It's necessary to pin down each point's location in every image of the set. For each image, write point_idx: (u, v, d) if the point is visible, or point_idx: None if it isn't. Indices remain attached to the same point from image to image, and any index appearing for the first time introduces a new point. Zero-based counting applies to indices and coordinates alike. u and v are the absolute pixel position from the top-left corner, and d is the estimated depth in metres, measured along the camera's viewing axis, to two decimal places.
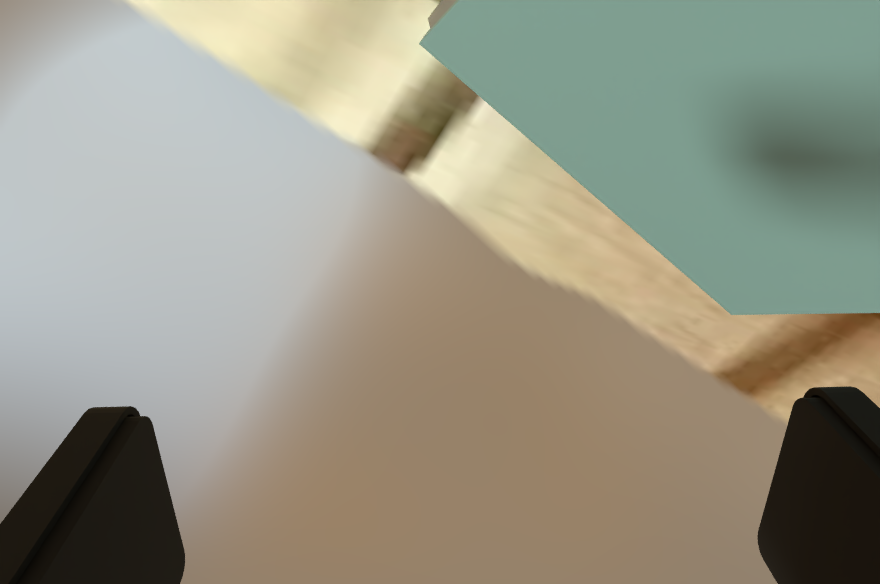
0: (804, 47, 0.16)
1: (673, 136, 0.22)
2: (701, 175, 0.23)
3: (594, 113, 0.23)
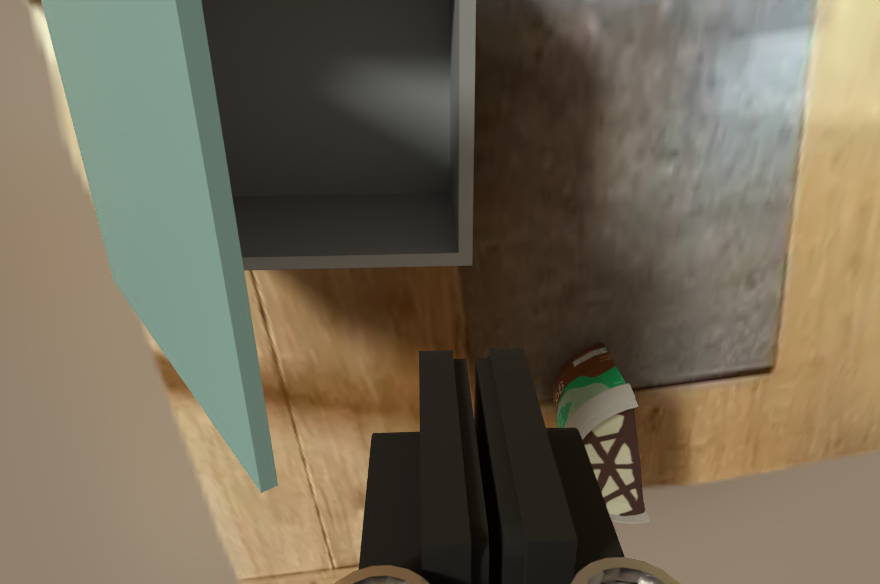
0: (113, 96, 0.24)
1: (89, 106, 0.28)
2: (98, 149, 0.29)
3: (68, 52, 0.29)
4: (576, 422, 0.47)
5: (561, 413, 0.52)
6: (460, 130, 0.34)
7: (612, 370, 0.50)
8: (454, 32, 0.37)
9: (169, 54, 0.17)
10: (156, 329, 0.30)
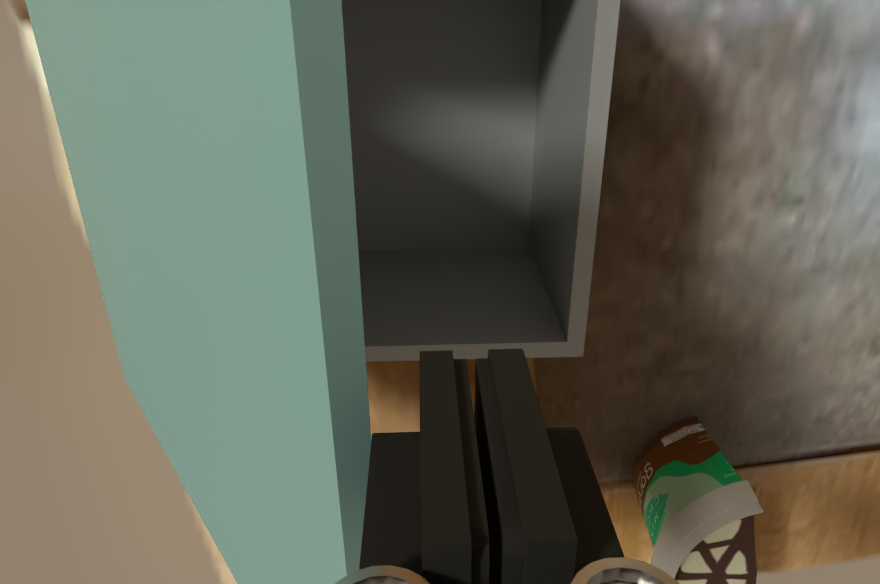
0: (134, 176, 0.15)
1: (96, 173, 0.20)
2: (107, 229, 0.21)
3: (67, 95, 0.20)
4: (682, 526, 0.39)
5: (653, 505, 0.43)
6: (582, 190, 0.26)
7: (717, 457, 0.42)
8: (564, 60, 0.28)
9: (261, 156, 0.08)
10: (186, 477, 0.22)
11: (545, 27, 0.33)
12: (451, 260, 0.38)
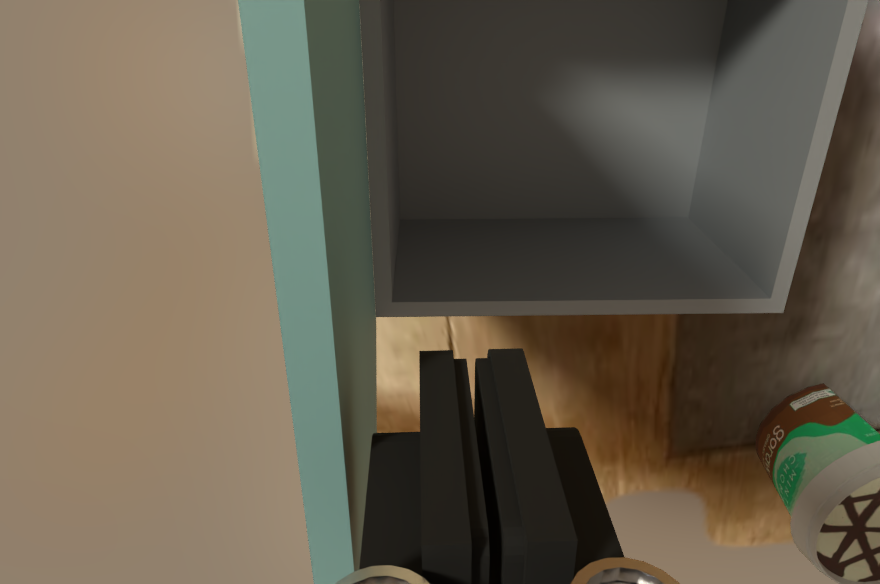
0: None
1: None
2: None
3: None
4: (829, 480, 0.41)
5: (788, 464, 0.46)
6: (809, 156, 0.28)
7: (854, 418, 0.44)
8: (778, 36, 0.31)
9: None
10: None
11: (737, 6, 0.35)
12: (621, 227, 0.40)
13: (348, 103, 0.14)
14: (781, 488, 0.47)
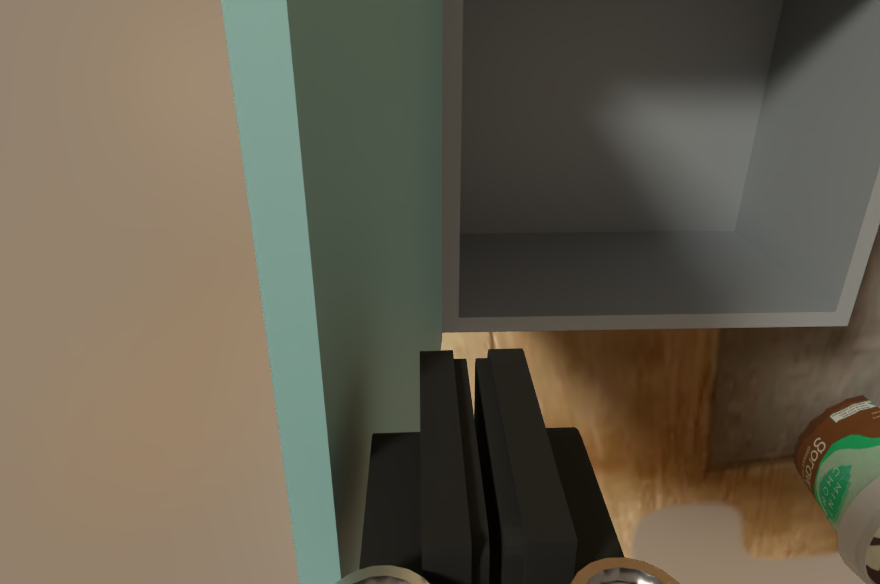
0: None
1: None
2: None
3: None
4: (878, 493, 0.41)
5: (831, 476, 0.46)
6: None
7: None
8: (841, 52, 0.31)
9: None
10: None
11: (791, 22, 0.35)
12: (671, 241, 0.40)
13: (398, 122, 0.13)
14: (824, 501, 0.47)
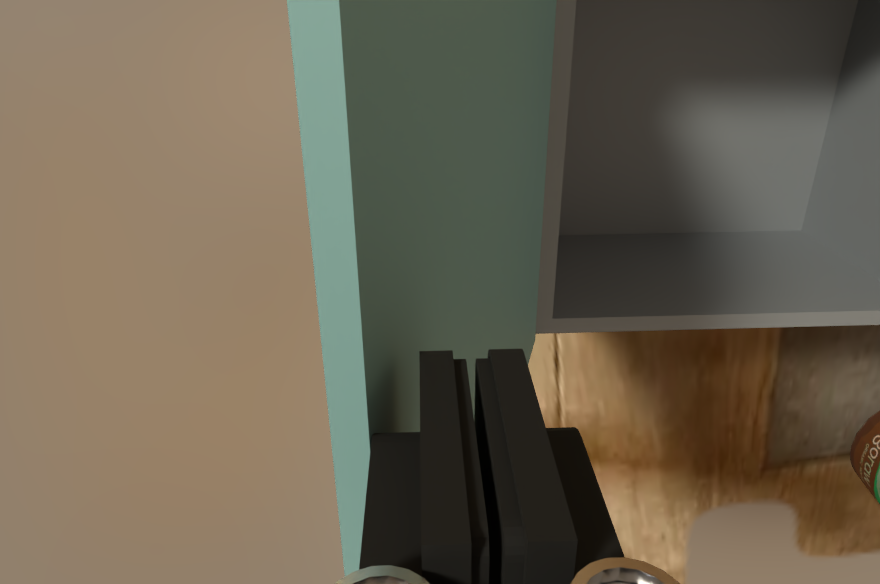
0: None
1: None
2: None
3: None
4: None
5: None
6: None
7: None
8: None
9: None
10: None
11: (867, 24, 0.36)
12: (741, 241, 0.40)
13: (481, 123, 0.14)
14: None
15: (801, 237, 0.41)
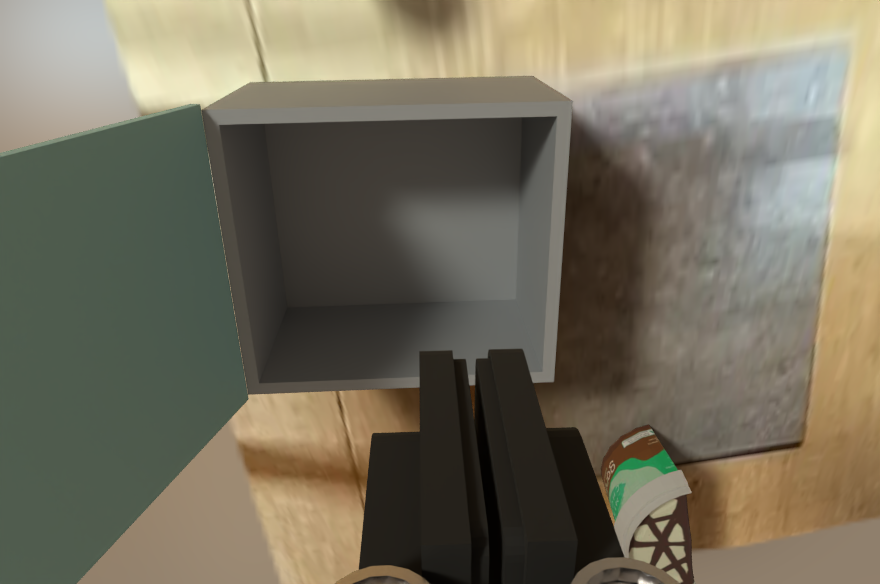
0: None
1: None
2: None
3: None
4: (634, 505, 0.52)
5: (615, 492, 0.57)
6: (549, 273, 0.40)
7: (661, 454, 0.55)
8: (536, 182, 0.42)
9: None
10: None
11: (524, 149, 0.46)
12: (459, 310, 0.51)
13: (15, 307, 0.25)
14: (613, 512, 0.57)
15: (509, 306, 0.52)
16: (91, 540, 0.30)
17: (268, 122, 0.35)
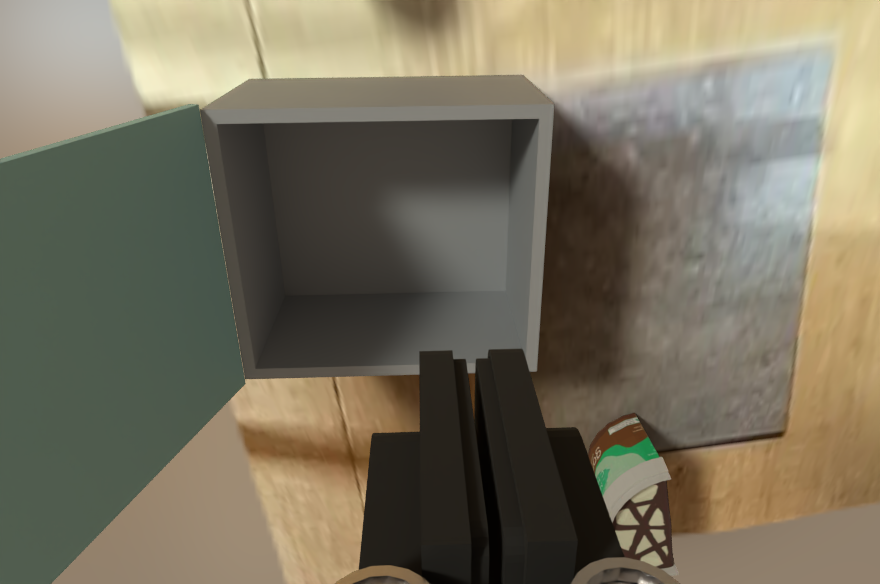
0: None
1: None
2: None
3: None
4: (616, 490, 0.54)
5: (599, 477, 0.59)
6: (532, 268, 0.41)
7: (645, 441, 0.57)
8: (523, 179, 0.44)
9: None
10: None
11: (513, 146, 0.48)
12: (450, 301, 0.53)
13: (24, 299, 0.27)
14: None
15: (499, 297, 0.53)
16: (94, 512, 0.32)
17: (263, 122, 0.37)
